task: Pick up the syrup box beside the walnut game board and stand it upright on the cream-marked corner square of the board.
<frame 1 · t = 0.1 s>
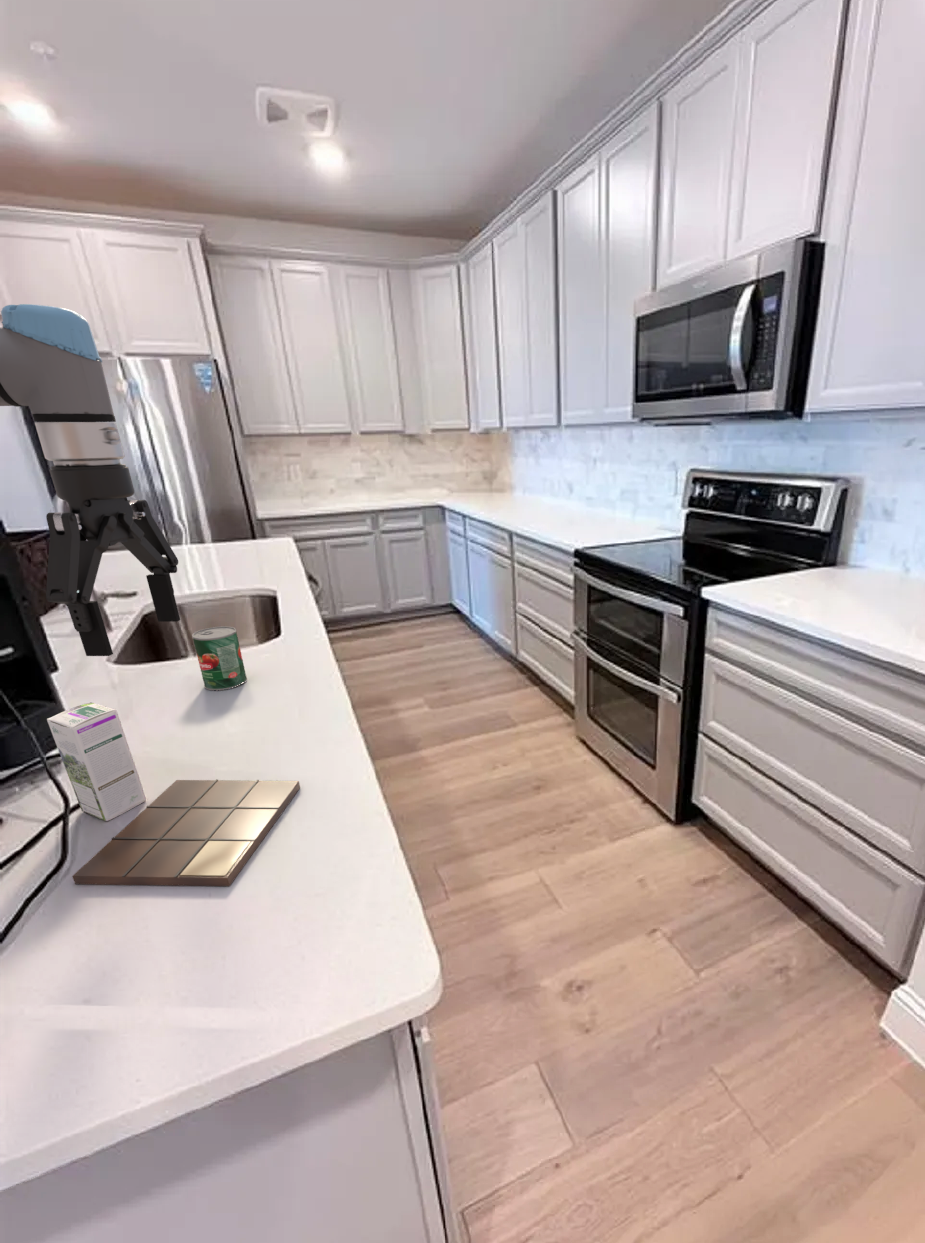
hand: (137, 636, 76), 23 cm above the table, tool pointing down, fingers open, 13 cm apart
game board: (200, 830, 76), on the table
syrup box: (114, 807, 82), on the table
canned tomato: (226, 683, 121), on the table
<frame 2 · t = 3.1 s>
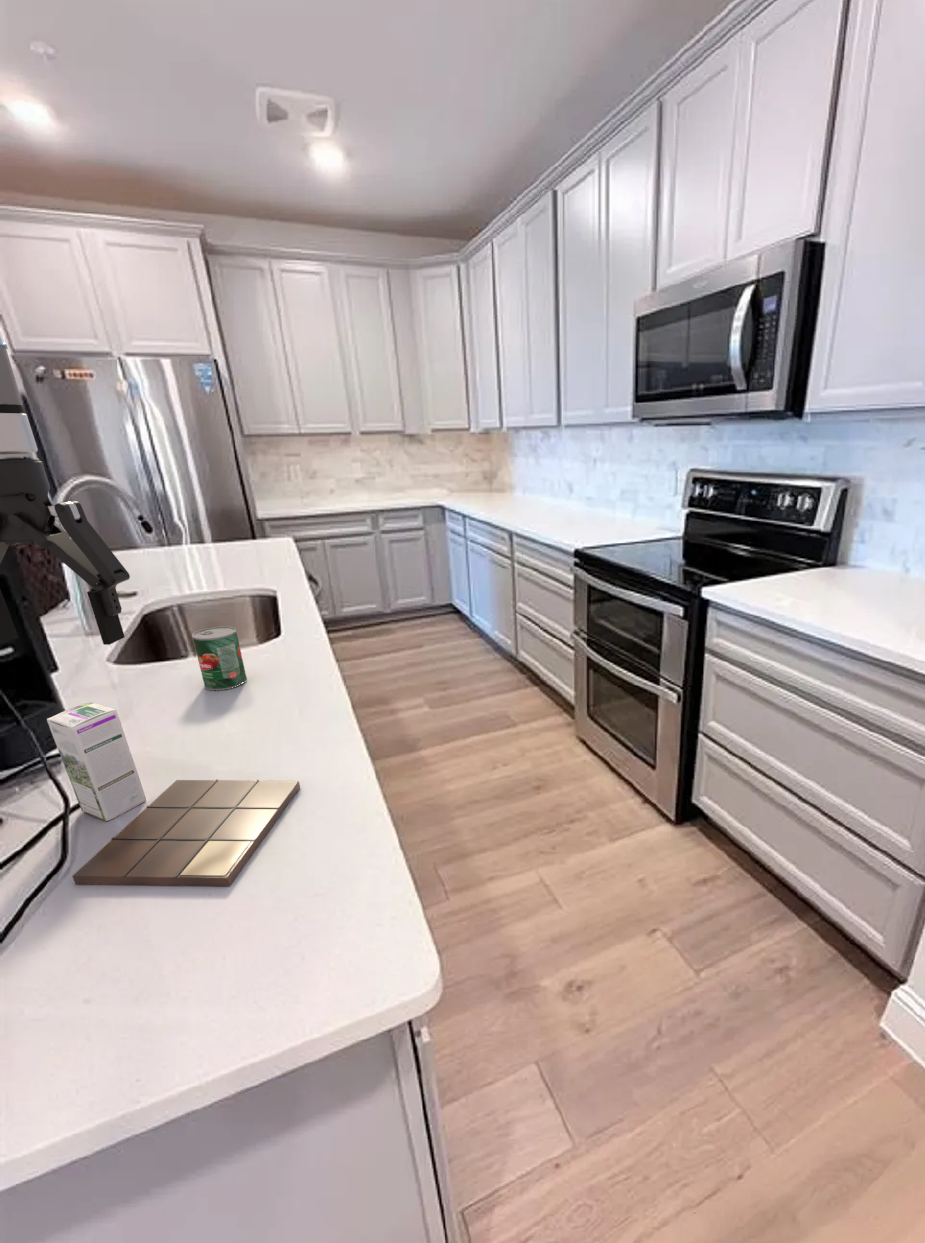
hand: (60, 641, 72), 24 cm above the table, tool pointing down, fingers open, 13 cm apart
nothing on the table moved.
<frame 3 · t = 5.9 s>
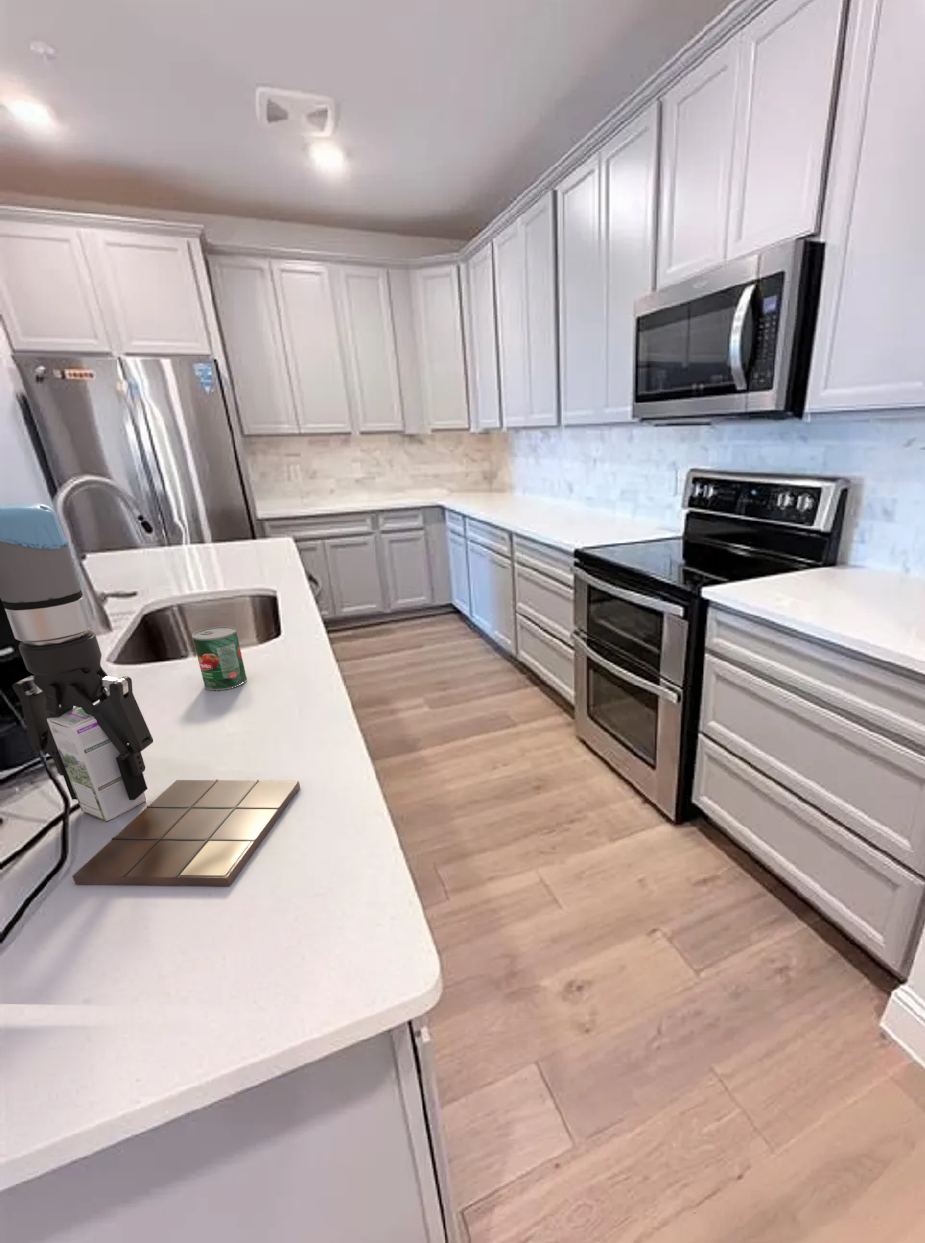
hand: (110, 793, 81), 2 cm above the table, tool pointing down, fingers closed on syrup box, 7 cm apart
syrup box: (114, 807, 82), on the table, touching gripper
everything else where it was.
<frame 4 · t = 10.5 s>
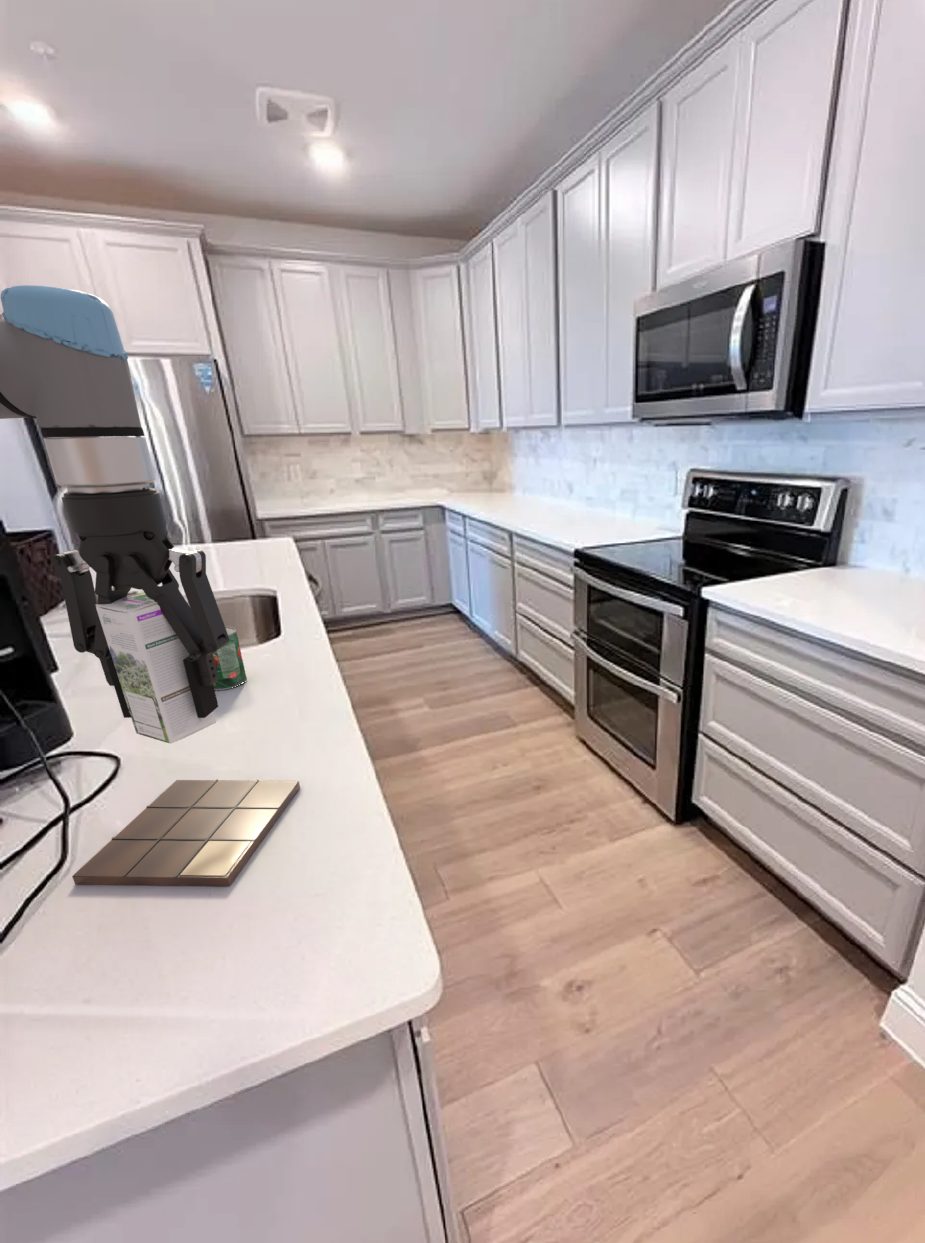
hand: (172, 711, 63), 20 cm above the table, tool pointing down, fingers closed on syrup box, 7 cm apart
syrup box: (177, 730, 64), point 18 cm above the table, touching gripper
everything else where it was.
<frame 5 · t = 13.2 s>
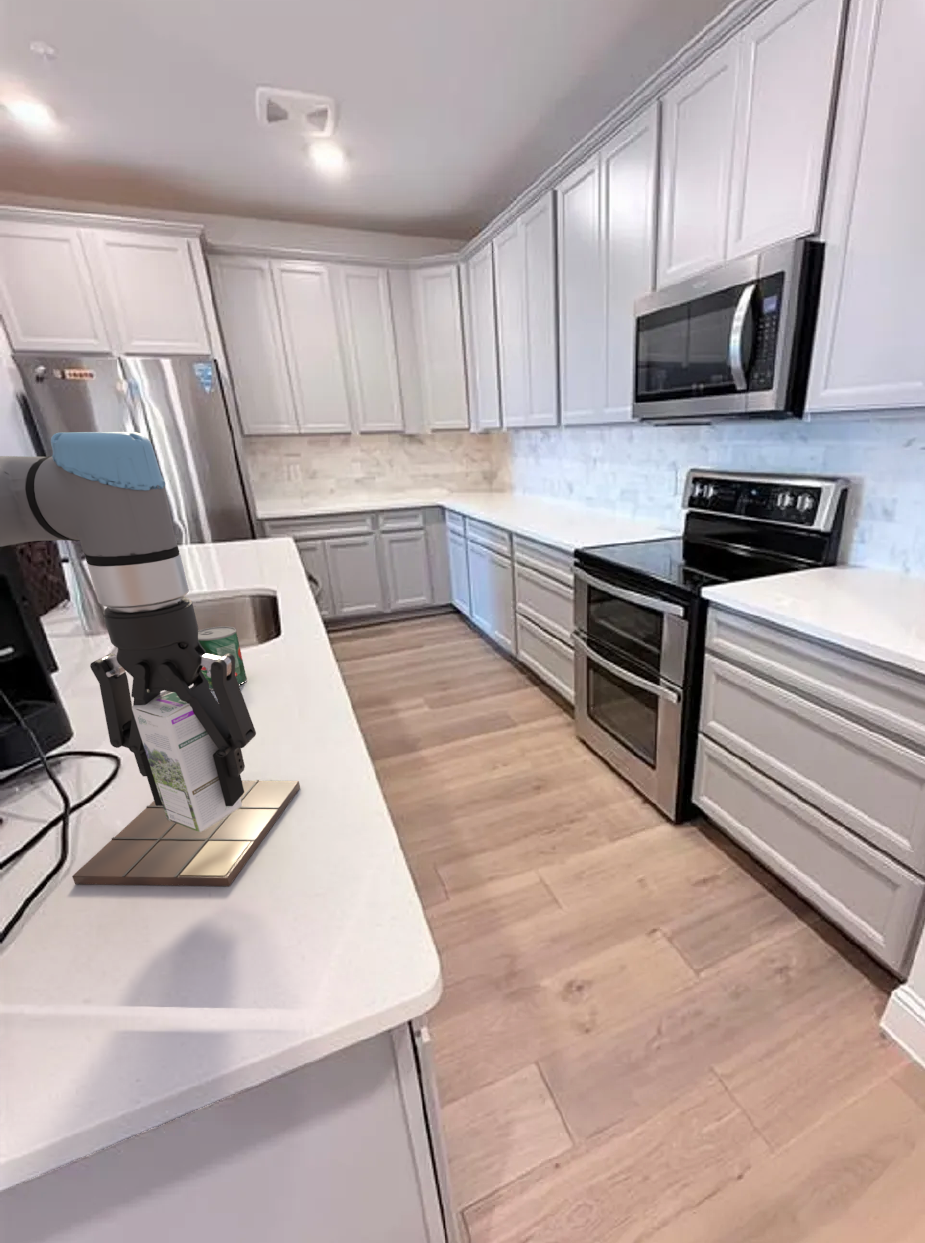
hand: (200, 798, 66), 10 cm above the table, tool pointing down, fingers closed on syrup box, 7 cm apart
syrup box: (205, 815, 67), point 7 cm above the table, touching gripper
everything else where it was.
when the fingers open (3 cm above the table, at t = 15.3 s): syrup box stays where it is, resting on game board.
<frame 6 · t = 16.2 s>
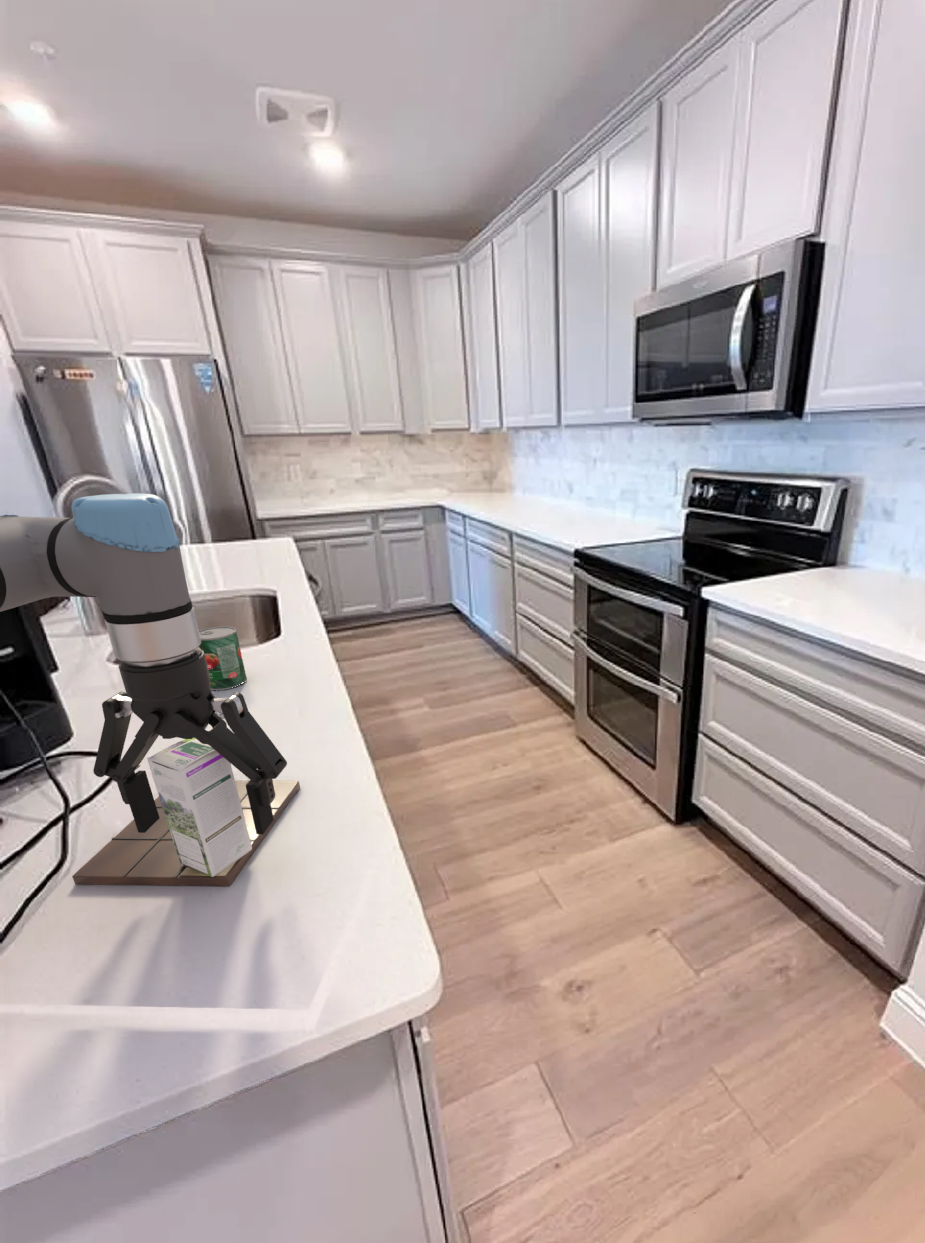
hand: (207, 826, 68), 6 cm above the table, tool pointing down, fingers open, 13 cm apart
syrup box: (217, 858, 70), point 1 cm above the table, touching game board
everything else where it was.
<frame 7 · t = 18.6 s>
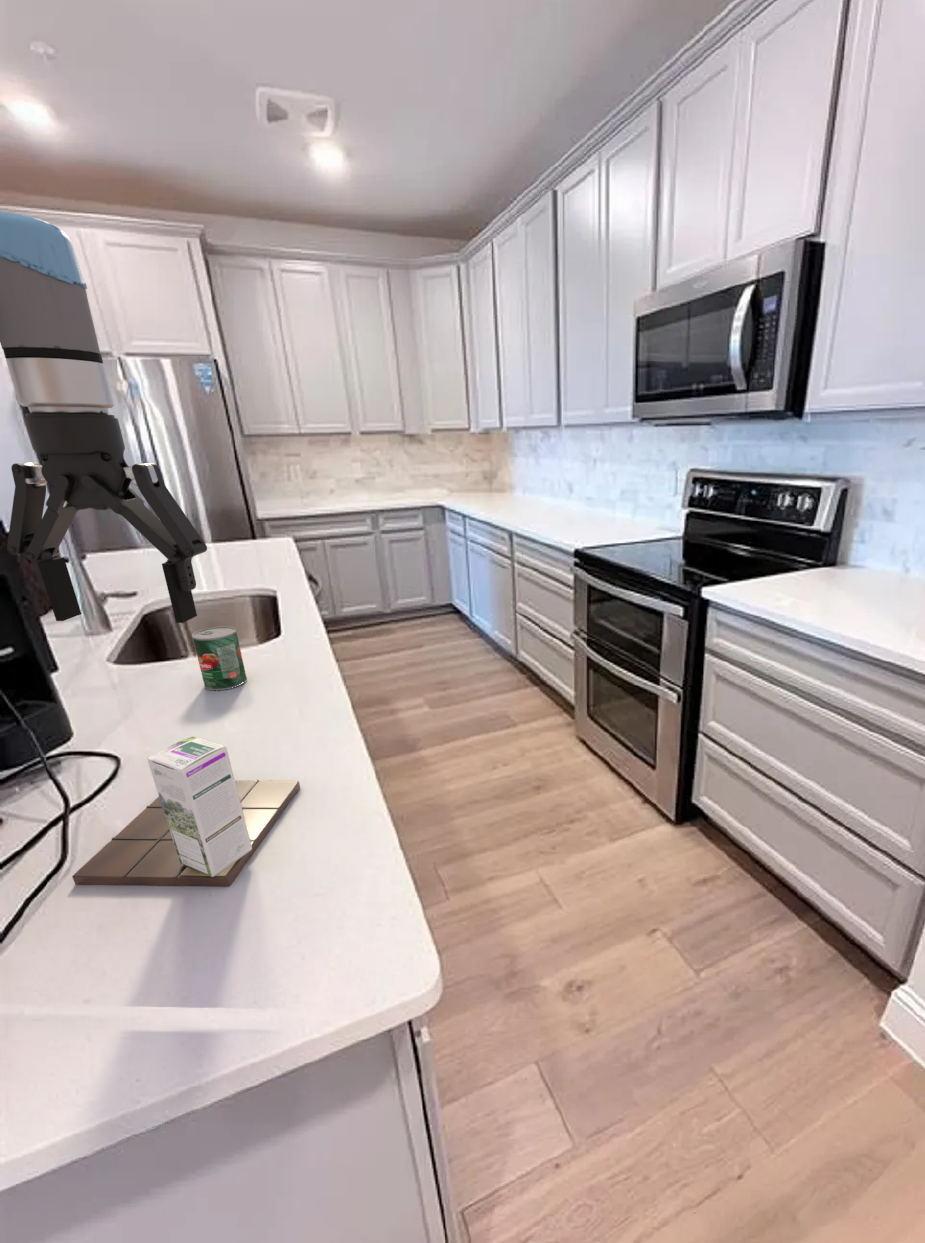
hand: (127, 618, 66), 28 cm above the table, tool pointing down, fingers open, 13 cm apart
nothing on the table moved.
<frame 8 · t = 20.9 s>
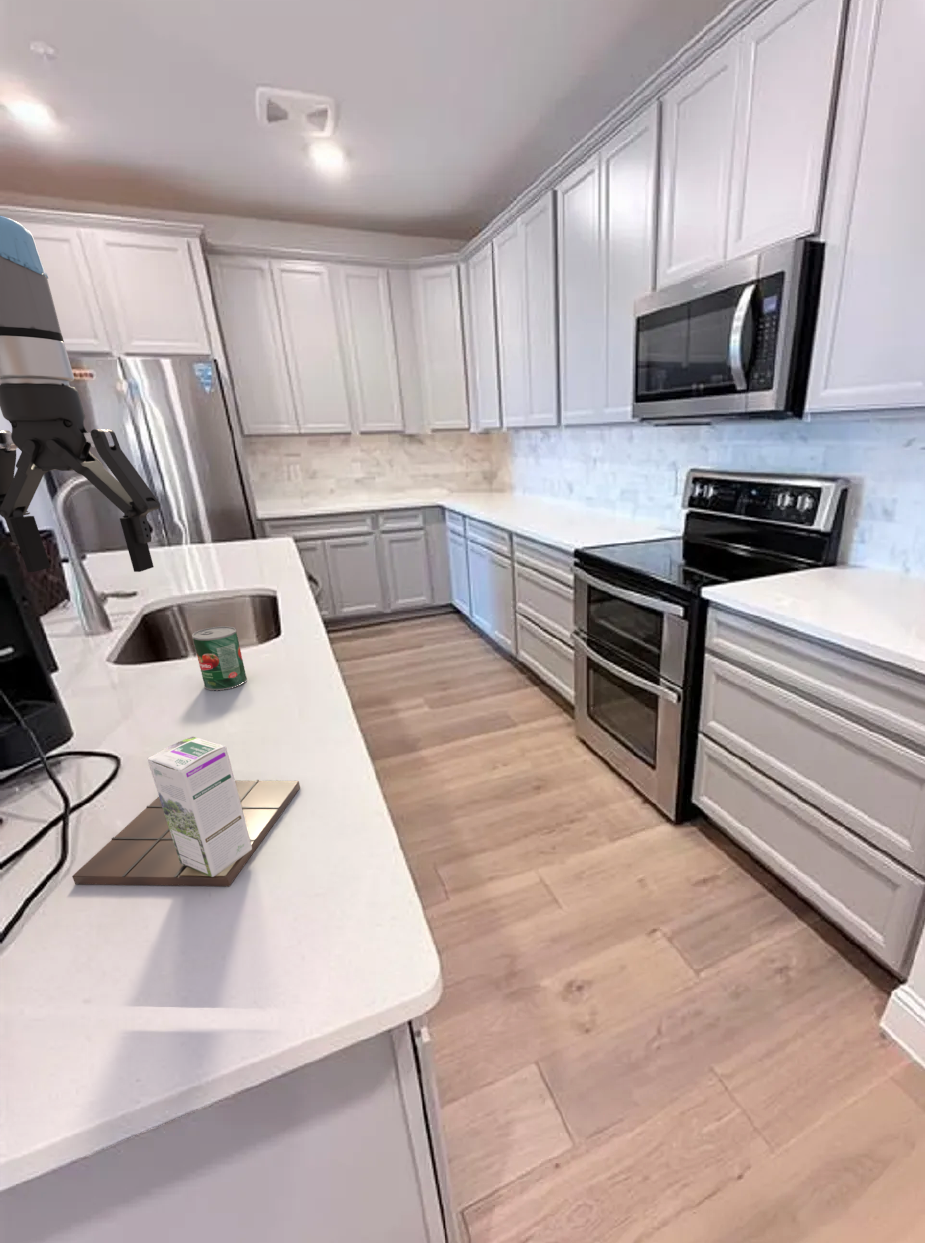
hand: (91, 570, 75), 32 cm above the table, tool pointing down, fingers open, 13 cm apart
nothing on the table moved.
at the end: syrup box 0.0 cm from the target spot on the game board, point 1.1 cm above the game board's base; syrup box tilted 0°; the gripper is holding nothing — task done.
